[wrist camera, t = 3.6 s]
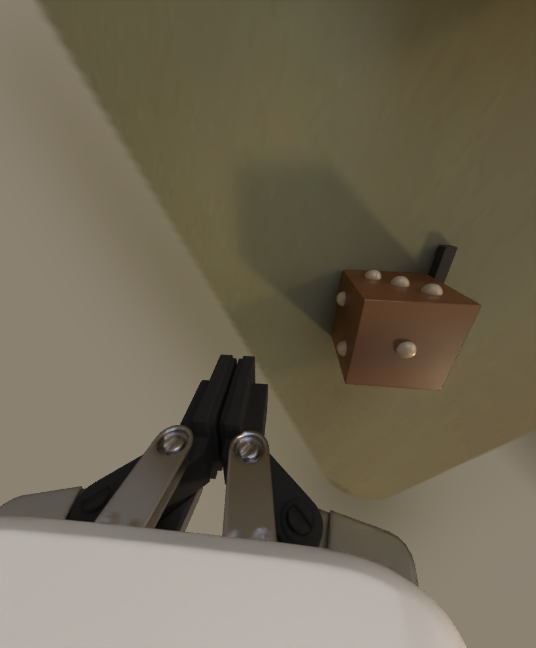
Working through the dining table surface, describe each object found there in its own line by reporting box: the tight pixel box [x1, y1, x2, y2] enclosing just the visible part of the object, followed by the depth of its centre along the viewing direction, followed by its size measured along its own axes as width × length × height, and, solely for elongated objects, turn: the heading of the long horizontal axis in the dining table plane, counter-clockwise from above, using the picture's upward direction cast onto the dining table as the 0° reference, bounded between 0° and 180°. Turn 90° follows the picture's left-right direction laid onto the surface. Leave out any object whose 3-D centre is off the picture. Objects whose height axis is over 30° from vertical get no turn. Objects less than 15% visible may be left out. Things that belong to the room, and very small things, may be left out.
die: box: [332, 270, 481, 391], centre depth 16 cm, size 6×6×6 cm
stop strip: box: [429, 245, 457, 284], centre depth 18 cm, size 10×1×1 cm, turn 179°
